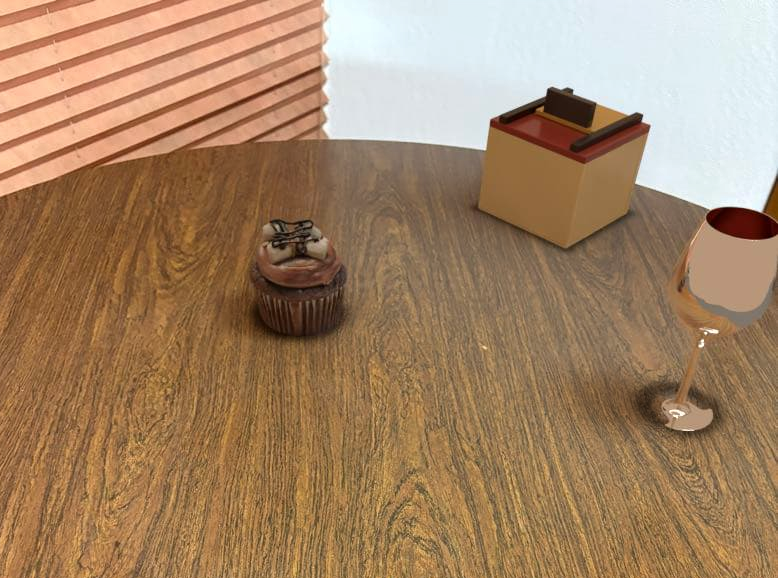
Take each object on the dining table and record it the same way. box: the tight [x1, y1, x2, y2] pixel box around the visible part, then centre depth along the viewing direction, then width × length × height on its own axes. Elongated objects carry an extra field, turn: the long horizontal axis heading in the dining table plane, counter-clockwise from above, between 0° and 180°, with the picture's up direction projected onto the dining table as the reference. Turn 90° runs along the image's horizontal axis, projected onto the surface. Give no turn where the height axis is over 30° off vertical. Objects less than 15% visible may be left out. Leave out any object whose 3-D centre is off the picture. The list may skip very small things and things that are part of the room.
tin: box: [477, 87, 651, 250], centre depth 100 cm, size 13×13×12 cm
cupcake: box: [248, 217, 349, 337], centre depth 83 cm, size 10×10×10 cm
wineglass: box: [661, 205, 778, 432], centre depth 73 cm, size 8×8×18 cm
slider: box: [535, 86, 630, 134], centre depth 97 cm, size 7×8×3 cm
